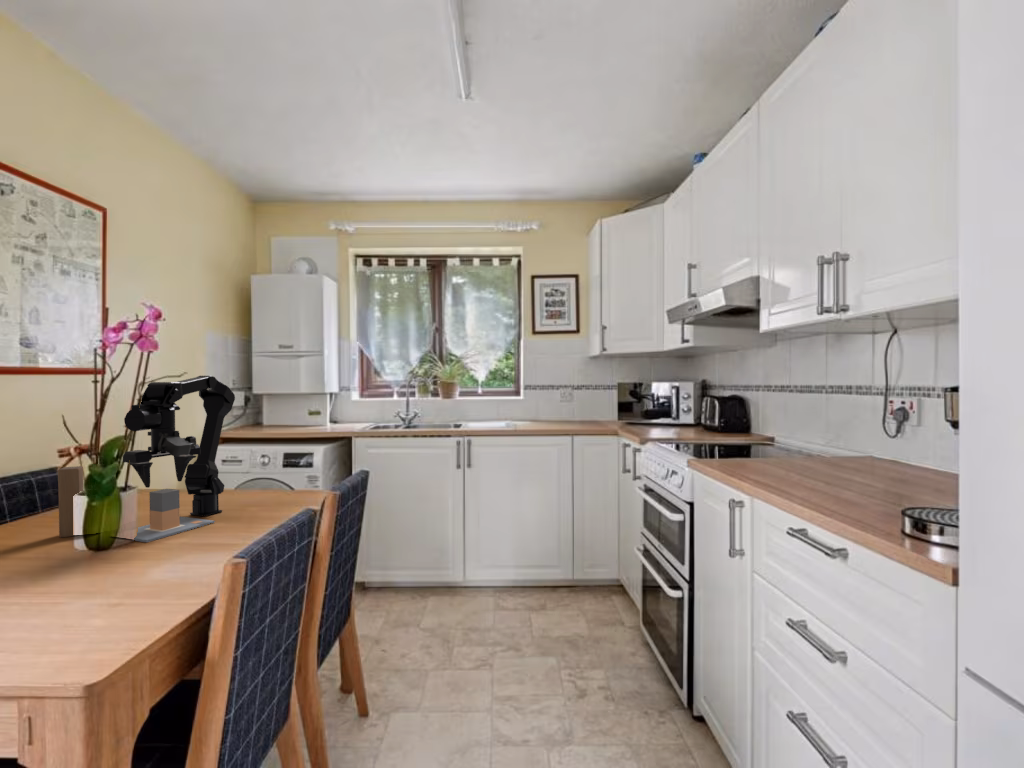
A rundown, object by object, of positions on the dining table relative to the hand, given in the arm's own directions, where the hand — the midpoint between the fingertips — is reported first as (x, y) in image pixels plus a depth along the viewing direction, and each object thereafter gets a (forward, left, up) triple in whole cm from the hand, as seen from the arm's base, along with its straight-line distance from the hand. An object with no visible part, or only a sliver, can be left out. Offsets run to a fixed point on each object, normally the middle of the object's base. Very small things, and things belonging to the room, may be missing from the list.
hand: (164, 484), depth 155 cm
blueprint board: (0, 0, -12) cm, 12 cm away
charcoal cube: (0, 0, -7) cm, 7 cm away
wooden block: (+11, -17, -13) cm, 24 cm away
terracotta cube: (0, 0, -12) cm, 12 cm away
